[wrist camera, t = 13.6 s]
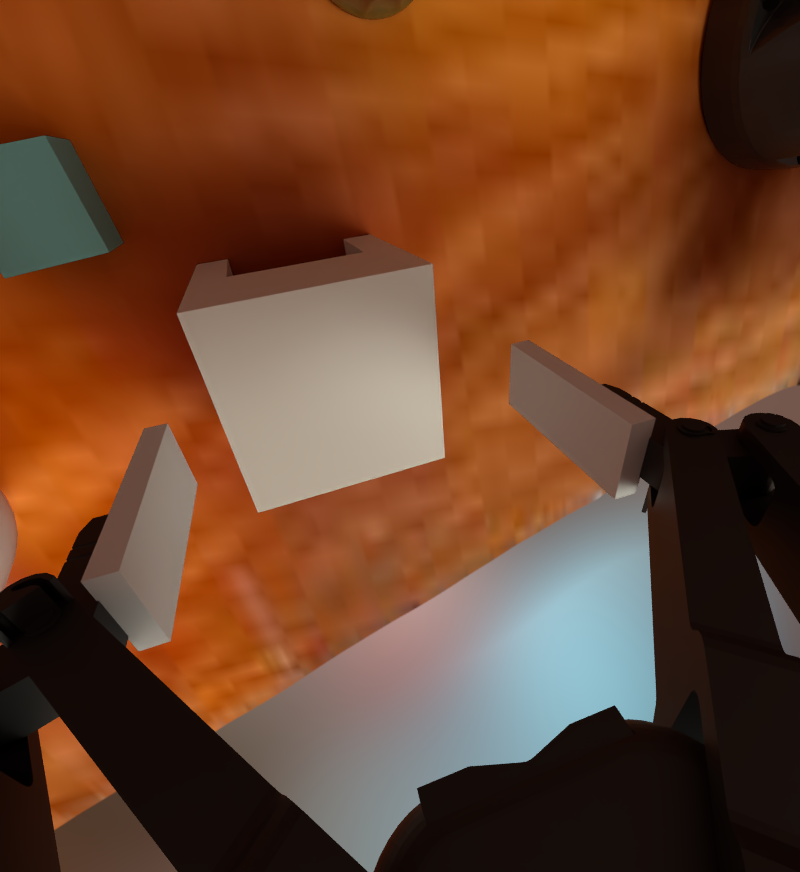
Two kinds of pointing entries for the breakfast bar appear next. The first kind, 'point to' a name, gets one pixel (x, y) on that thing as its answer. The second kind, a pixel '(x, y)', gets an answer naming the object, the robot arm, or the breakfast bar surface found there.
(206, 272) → the notched white block
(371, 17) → the vase
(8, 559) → the lidded jar
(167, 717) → the robot arm
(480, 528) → the breakfast bar surface
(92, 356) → the breakfast bar surface
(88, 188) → the teal block
